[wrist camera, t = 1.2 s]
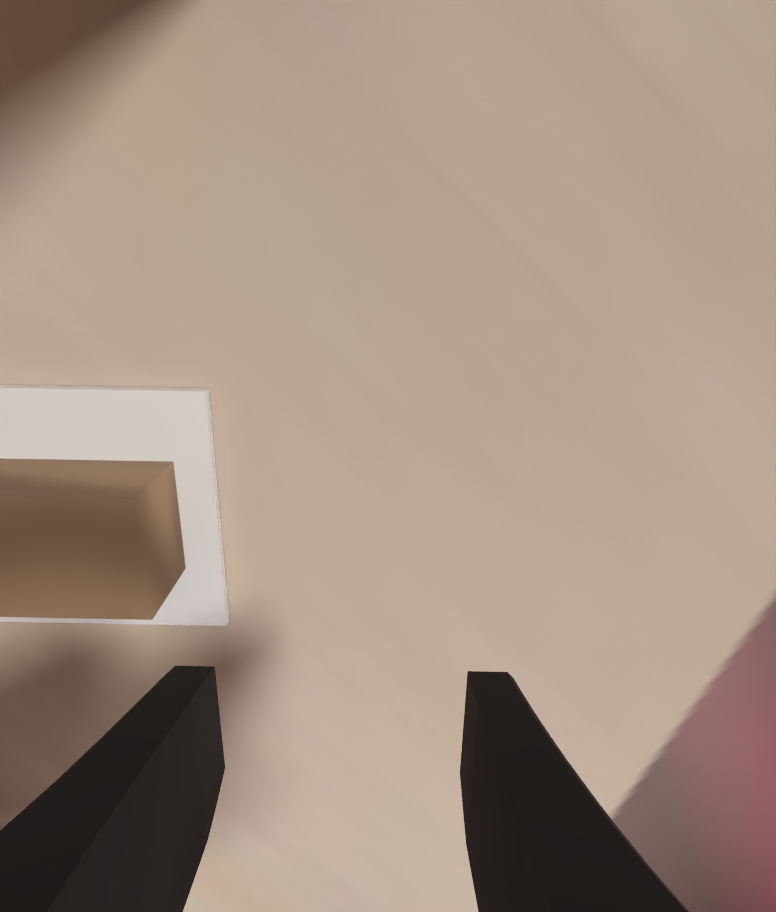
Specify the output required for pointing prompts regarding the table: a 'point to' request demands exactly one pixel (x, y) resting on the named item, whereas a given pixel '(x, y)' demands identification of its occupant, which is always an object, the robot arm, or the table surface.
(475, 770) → the robot arm
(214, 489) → the white base with panel
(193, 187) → the table surface
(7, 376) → the table surface
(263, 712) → the table surface
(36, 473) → the batten
